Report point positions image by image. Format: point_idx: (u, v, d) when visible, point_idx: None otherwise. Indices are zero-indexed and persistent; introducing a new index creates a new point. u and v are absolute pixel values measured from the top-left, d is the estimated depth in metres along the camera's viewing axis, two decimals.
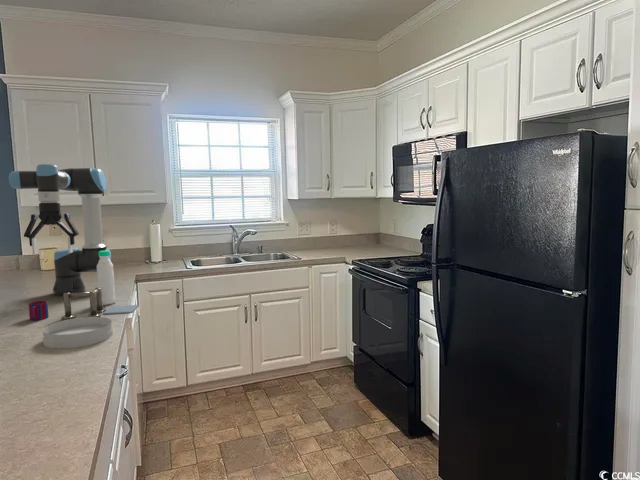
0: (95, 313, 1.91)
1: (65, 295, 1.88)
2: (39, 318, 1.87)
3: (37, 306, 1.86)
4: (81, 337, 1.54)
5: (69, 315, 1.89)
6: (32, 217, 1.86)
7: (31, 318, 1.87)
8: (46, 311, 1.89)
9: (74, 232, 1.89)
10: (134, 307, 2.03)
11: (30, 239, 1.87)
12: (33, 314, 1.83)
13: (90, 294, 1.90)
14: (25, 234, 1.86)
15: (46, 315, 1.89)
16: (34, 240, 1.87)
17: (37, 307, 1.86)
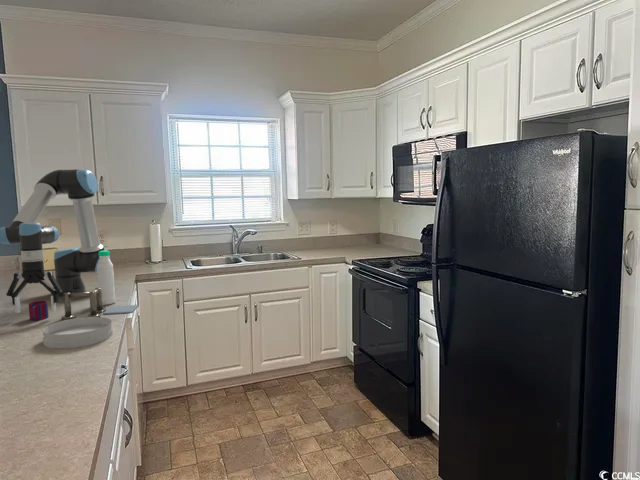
0: (95, 313, 1.91)
1: (65, 295, 1.88)
2: (39, 318, 1.87)
3: (37, 306, 1.86)
4: (81, 336, 1.54)
5: (69, 315, 1.89)
6: (15, 276, 1.84)
7: (31, 318, 1.87)
8: (46, 311, 1.89)
9: (57, 290, 1.87)
10: (134, 307, 2.03)
11: (13, 298, 1.85)
12: (33, 314, 1.83)
13: (90, 294, 1.90)
14: (8, 293, 1.84)
15: (46, 315, 1.89)
16: (17, 299, 1.85)
17: (37, 307, 1.86)
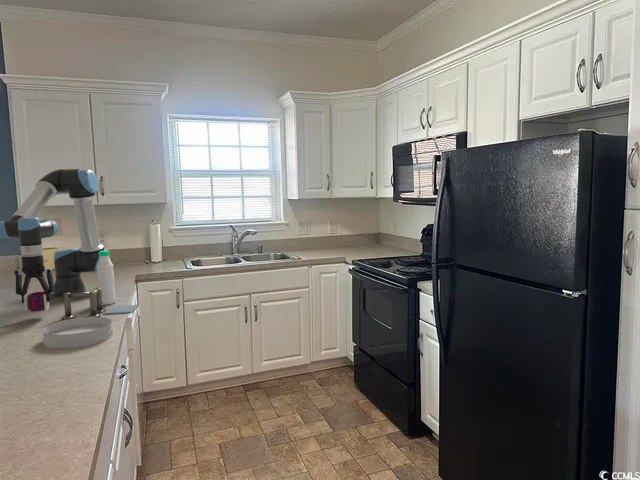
0: (95, 313, 1.91)
1: (65, 295, 1.88)
2: (39, 309, 1.87)
3: (37, 297, 1.86)
4: (81, 337, 1.54)
5: (69, 315, 1.89)
6: (16, 273, 1.84)
7: (31, 309, 1.87)
8: None
9: (51, 289, 1.87)
10: (134, 307, 2.03)
11: (22, 296, 1.86)
12: (33, 305, 1.84)
13: (90, 294, 1.90)
14: (17, 292, 1.85)
15: None
16: (26, 297, 1.86)
17: (37, 298, 1.87)
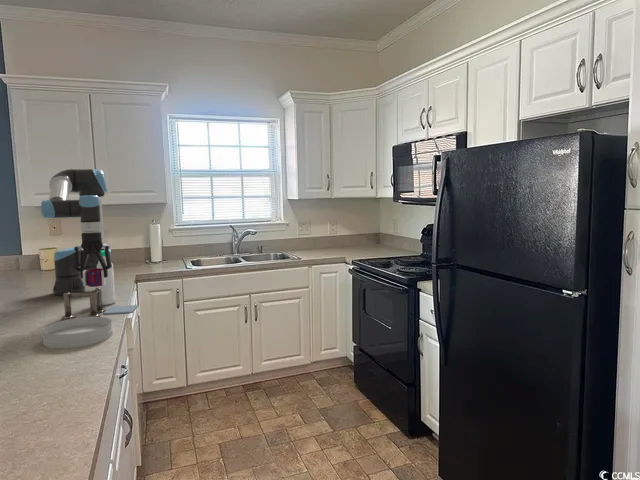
0: (95, 313, 1.91)
1: (65, 295, 1.88)
2: (97, 284, 1.94)
3: (95, 273, 1.93)
4: (81, 336, 1.54)
5: (69, 315, 1.89)
6: (76, 249, 1.91)
7: (89, 284, 1.93)
8: None
9: (108, 265, 1.93)
10: (134, 307, 2.03)
11: (81, 272, 1.92)
12: (92, 280, 1.90)
13: (90, 294, 1.90)
14: (76, 267, 1.91)
15: None
16: (85, 273, 1.93)
17: (95, 274, 1.93)
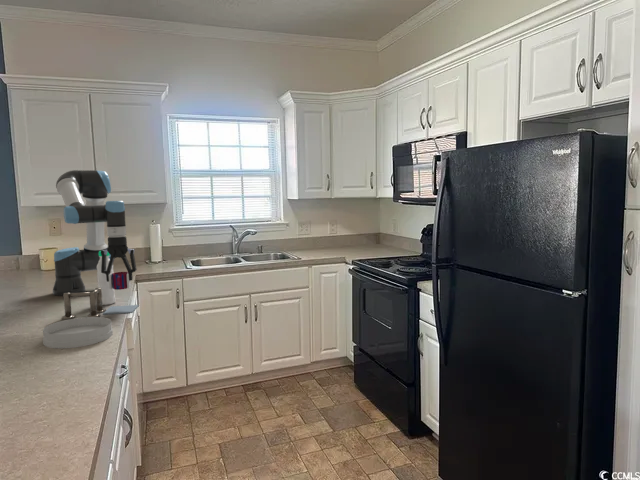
0: (95, 313, 1.91)
1: (65, 295, 1.88)
2: (122, 287, 1.99)
3: (121, 276, 1.98)
4: (81, 336, 1.54)
5: (69, 315, 1.89)
6: (102, 253, 1.96)
7: (115, 287, 1.99)
8: None
9: (133, 268, 1.99)
10: (134, 307, 2.03)
11: (107, 275, 1.98)
12: (118, 283, 1.95)
13: (90, 294, 1.90)
14: (102, 270, 1.97)
15: None
16: (110, 276, 1.98)
17: (121, 277, 1.98)
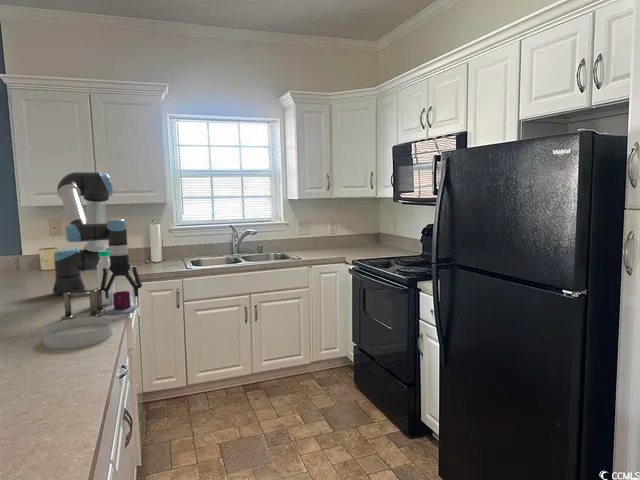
0: (95, 313, 1.91)
1: (65, 295, 1.88)
2: (123, 307, 2.00)
3: (122, 296, 1.99)
4: (81, 336, 1.54)
5: (69, 315, 1.89)
6: (104, 271, 1.97)
7: (116, 307, 2.00)
8: (129, 301, 2.03)
9: (139, 285, 2.00)
10: (134, 307, 2.03)
11: (106, 292, 1.99)
12: (119, 303, 1.96)
13: (90, 294, 1.90)
14: (101, 288, 1.98)
15: (129, 304, 2.03)
16: (110, 293, 1.99)
17: (122, 297, 1.99)
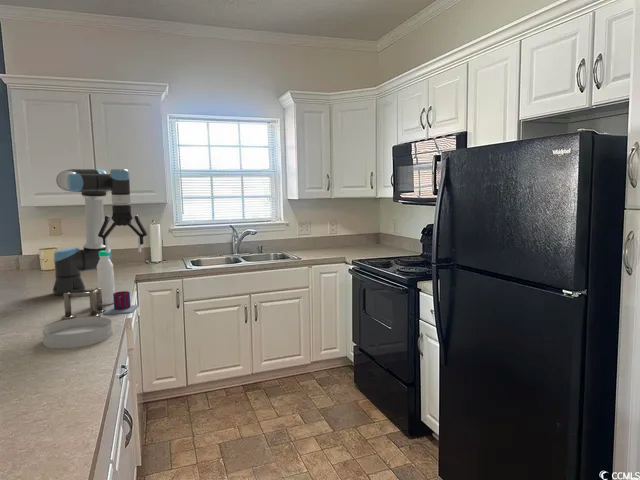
0: (95, 313, 1.91)
1: (65, 295, 1.88)
2: (123, 307, 2.00)
3: (122, 296, 1.99)
4: (81, 336, 1.54)
5: (69, 315, 1.89)
6: (106, 218, 1.98)
7: (116, 307, 2.00)
8: (129, 301, 2.03)
9: (144, 233, 2.01)
10: (134, 307, 2.03)
11: (103, 239, 2.00)
12: (119, 303, 1.96)
13: (90, 294, 1.90)
14: (99, 234, 1.99)
15: (129, 305, 2.03)
16: (107, 240, 2.00)
17: (122, 297, 1.99)
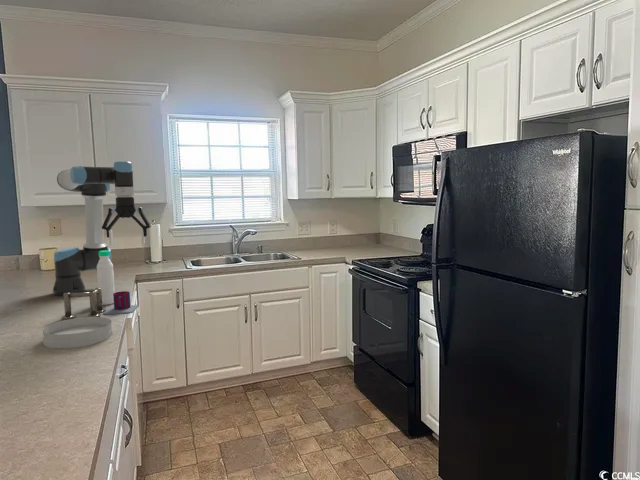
0: (95, 313, 1.91)
1: (65, 295, 1.88)
2: (123, 307, 2.00)
3: (122, 296, 1.99)
4: (81, 336, 1.54)
5: (69, 315, 1.89)
6: (109, 210, 2.00)
7: (116, 307, 2.00)
8: (129, 301, 2.03)
9: (147, 225, 2.03)
10: (134, 307, 2.03)
11: (107, 231, 2.01)
12: (119, 303, 1.96)
13: (90, 294, 1.90)
14: (103, 226, 2.00)
15: (129, 305, 2.03)
16: (111, 232, 2.01)
17: (122, 297, 1.99)
